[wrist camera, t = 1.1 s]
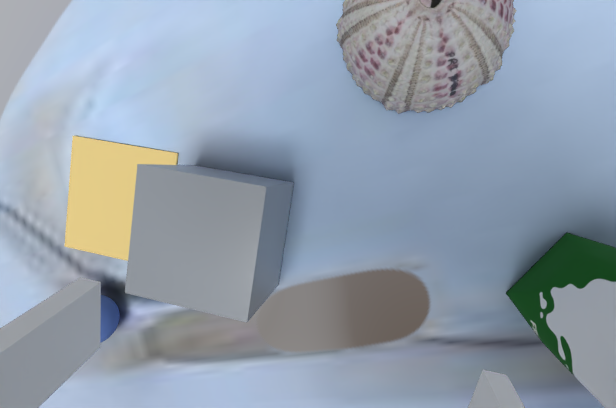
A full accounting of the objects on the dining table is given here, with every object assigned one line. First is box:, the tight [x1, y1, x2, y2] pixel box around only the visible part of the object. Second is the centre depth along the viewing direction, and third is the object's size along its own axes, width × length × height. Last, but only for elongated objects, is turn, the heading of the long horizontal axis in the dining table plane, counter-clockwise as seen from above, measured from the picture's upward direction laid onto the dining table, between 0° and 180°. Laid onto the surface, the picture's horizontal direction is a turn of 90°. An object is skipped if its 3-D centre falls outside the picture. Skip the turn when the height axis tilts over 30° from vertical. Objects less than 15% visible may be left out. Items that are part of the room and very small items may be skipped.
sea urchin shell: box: [336, 0, 516, 114], centre depth 27 cm, size 13×14×8 cm
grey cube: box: [125, 164, 294, 322], centre depth 31 cm, size 10×10×9 cm
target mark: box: [65, 136, 178, 261], centre depth 38 cm, size 12×12×1 cm
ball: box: [100, 295, 120, 343], centre depth 37 cm, size 5×5×5 cm
